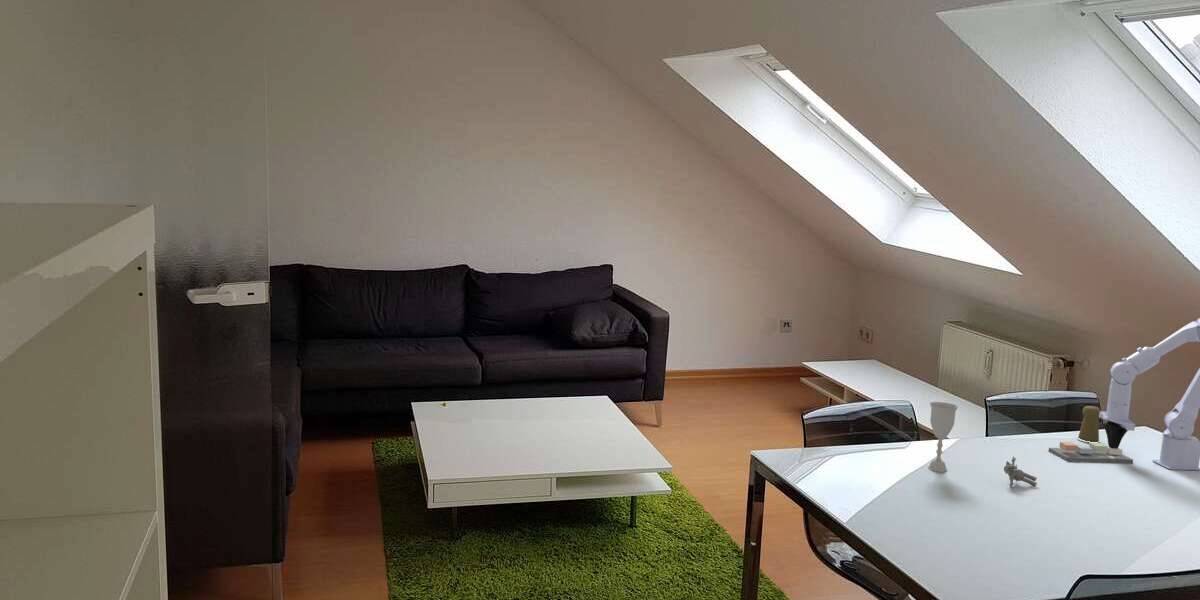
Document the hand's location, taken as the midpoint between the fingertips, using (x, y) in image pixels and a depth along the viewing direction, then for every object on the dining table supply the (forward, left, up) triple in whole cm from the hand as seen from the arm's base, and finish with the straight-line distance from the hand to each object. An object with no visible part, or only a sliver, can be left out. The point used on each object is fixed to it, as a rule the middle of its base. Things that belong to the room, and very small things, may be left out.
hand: (1113, 447), depth 285 cm
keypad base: (+7, 0, -3) cm, 7 cm away
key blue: (+9, 0, -1) cm, 9 cm away
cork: (-3, -18, -3) cm, 19 cm away
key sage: (+5, 0, -1) cm, 5 cm away
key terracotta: (+14, 0, -1) cm, 14 cm away
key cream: (0, 0, -1) cm, 1 cm away
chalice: (+60, +16, -3) cm, 62 cm away
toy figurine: (+43, +27, -3) cm, 51 cm away
